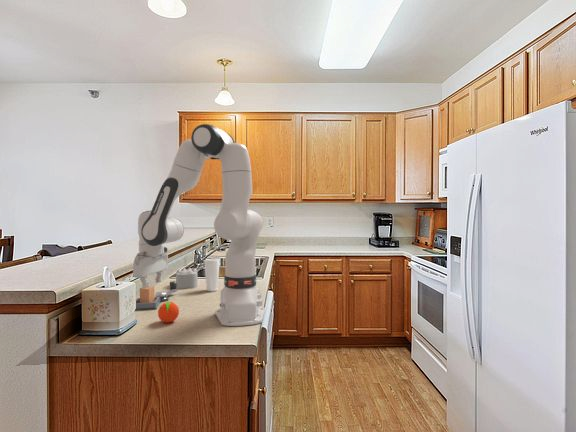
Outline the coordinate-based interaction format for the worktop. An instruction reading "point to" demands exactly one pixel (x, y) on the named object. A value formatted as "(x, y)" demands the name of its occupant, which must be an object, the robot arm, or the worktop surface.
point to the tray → (147, 304)
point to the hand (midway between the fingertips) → (152, 284)
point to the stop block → (147, 295)
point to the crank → (172, 289)
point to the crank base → (164, 299)
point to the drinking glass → (212, 273)
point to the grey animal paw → (186, 278)
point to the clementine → (168, 312)
